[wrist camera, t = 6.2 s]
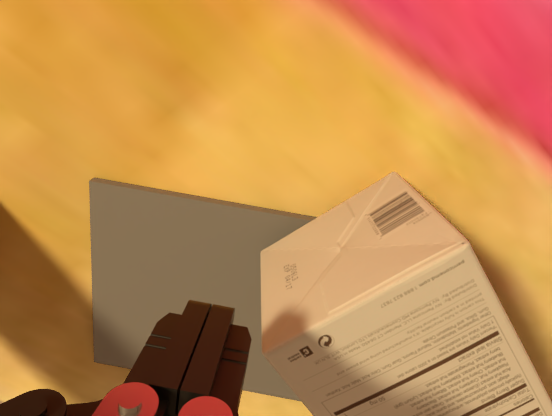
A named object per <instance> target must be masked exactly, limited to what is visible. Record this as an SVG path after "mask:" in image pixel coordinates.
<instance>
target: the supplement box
mask: <svg viewBox="0 0 552 416" xmlns="http://www.w3.org/2000/svg"><path fill="white" fill-rule="evenodd" d="M261 325H262V354H263V355H264V357H265V358H266V359H267V360H268V362H269V363H270V364H271V365H272V367H273V368H274V369H275V370H276V371H277V373H278V374H279V375H280V376H281V377H282V379H283V380H284V381H285V382H286V383H287V385H288V386H289V387H290V388H291V389H292V391H293V392H294V393H295V394H296V395H297V397H298V398H299V399H300V400H301V401H302V402H303V404H304V405H305V406H306V407H307V408H308V410H309V411H310V412H311V413H312V415H313V416H552V401H551V399H550V397H549V395H548V393H547V391H546V389H545V387H544V385H543V383H542V381H541V379H540V377H539V375H538V373H537V371H536V369H535V367H534V365H533V364H532V362H531V360H530V358H529V356H528V354H527V352H526V350H525V348H524V346H523V344H522V342H521V340H520V338H519V337H518V335H517V333H516V331H515V329H514V327H513V325H512V323H511V321H510V319H509V317H508V315H507V314H506V312H505V310H504V308H503V306H502V304H501V302H500V300H499V298H498V296H497V294H496V292H495V291H494V289H493V287H492V285H491V283H490V281H489V279H488V277H487V275H486V273H485V272H484V270H483V268H482V266H481V264H480V262H479V260H478V258H477V256H476V254H475V252H474V250H473V248H472V246H471V244H470V242H469V241H468V240H467V239H466V238H465V237H464V236H463V235H462V234H461V233H460V232H459V231H458V230H457V229H456V228H455V227H454V226H453V225H452V224H451V223H450V222H449V221H448V220H447V219H445V218H444V217H443V216H442V215H441V214H440V213H439V212H438V211H437V210H436V209H435V208H434V207H433V206H432V205H431V204H430V203H429V202H428V201H426V200H425V199H424V198H423V197H422V196H421V195H420V194H419V193H418V192H417V191H416V190H415V189H414V188H413V187H412V186H411V185H410V184H408V183H407V182H406V181H405V180H404V179H403V178H402V177H401V176H400V175H399V174H397V173H396V172H392V173H390V174H388V175H387V176H385V177H384V178H382V179H381V180H379V181H377V182H376V183H374V184H372V185H371V186H369V187H367V188H366V189H364V190H362V191H361V192H359V193H357V194H356V195H354V196H353V197H351V198H349V199H347V200H346V201H344V202H342V203H341V204H339V205H337V206H336V207H334V208H332V209H331V210H329V211H327V212H326V213H324V214H322V215H321V216H319V217H317V218H316V219H314V220H312V221H311V222H309V223H307V224H306V225H304V226H302V227H301V228H299V229H297V230H296V231H294V232H292V233H291V234H289V235H287V236H286V237H284V238H282V239H281V240H279V241H277V242H276V243H274V244H272V245H271V246H269V247H267V248H265V249H264V250H262V251H261Z"/></svg>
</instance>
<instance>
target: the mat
mask: <svg viewBox="0 0 552 416" xmlns="http://www.w3.org/2000/svg"><path fill="white" fill-rule="evenodd" d="M89 188H90V225H91V263H92V300H93V337H94V362H97V363H102V364H107V365H112V366H118V367H123V368H128V369H132V367H133V365H134V364H135V362H136V360H137V358H138V356H139V354H140V353H141V351H142V349H143V347H144V346H145V344H146V342H147V340H148V338H149V336H150V335H151V332H152V331H153V329H154V327H155V325H156V323H157V322H158V321H159V320H160V319H161V318H163V317H164V316H165V315H167V314H168V313H169V312H170V313H175V314H180V315H182V313H183V311H184V309H185V307H186V305H187V303H188V301H189V300H194V301H199V302H205V303H210V304H212V305H213V304H216V305H221V306H226V307H231V308H235V314H234V321H233V324H234V325H239V326H244V327H248V330H249V333H250V336H251V339H252V340H251V345H250V351H249V357H248V363H247V368H246V374H245V379H244V384H243V389H242V390H244V391H250V392H255V393H260V394H266V395H271V396H276V397H281V398H287V399H292V400H297V401H301V400H300V399H299V398H298V397H297V395H296V394H295V393H294V392H293V391H292V389H291V388H290V387H289V386H288V385H287V383H286V382H285V381H284V380H283V379H282V377H281V376H280V375H279V374H278V373H277V371H276V370H275V369H274V368H273V367H272V365H271V364H270V363H269V362H268V360H267V359H266V358H265V357H264V355H263V354H262V325H261V251H262V250H264V249H265V248H267V247H269V246H271V245H272V244H274V243H276V242H277V241H279V240H281V239H282V238H284V237H286V236H287V235H289V234H291V233H292V232H294V231H296V230H297V229H299V228H301V227H302V226H304V225H306V224H307V223H309V222H311V221H312V220H314V219H316V218H317V217H312V216H306V215H301V214H295V213H290V212H284V211H278V210H273V209H267V208H262V207H256V206H250V205H245V204H239V203H234V202H228V201H222V200H217V199H211V198H206V197H200V196H194V195H189V194H183V193H178V192H172V191H166V190H161V189H155V188H150V187H144V186H138V185H133V184H127V183H122V182H116V181H110V180H105V179H99V178H93V179H91V180H90V181H89Z"/></svg>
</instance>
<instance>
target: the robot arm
mask: <svg viewBox="0 0 552 416" xmlns="http://www.w3.org/2000/svg"><path fill="white" fill-rule="evenodd" d="M234 314H235V308H231V307H226V306H221V305H216V304H213V305H212V304H210V303H205V302H199V301H194V300H189V301H188V303H187V305H186V307H185V309H184V311H183V313H182V315H180V314H175V313H170V312H169V313H168V314H167V315H165V316H164V317H163V318H161V319H160V320H159V321H158V322H157V323H156V325H155V327H154V329H153V331H152V332H151V335H150V336H149V338H148V340H147V342H146V344H145V346H144V347H143V349H142V351H141V353H140V354H139V356H138V358H137V360H136V362H135V364H134V365H133V367H132V369H131V371H130V373H129V375H128V376H127V378H126V380H125V382H124V383H123V384H122V385H119V386H117V387H115V388H114V389H112V390H111V391H110V392H109V393H107V395H106V396H105V397H104V399H102V400H100V401H96V402H90V403H81V404H70V405H66V400H65V398H64V397H63V396H62V395H61V394H60V393H59V392H57V391H54V390H50V389H37V390H32V391H29V392H26V393H24V394H21V395H19V396H17V397H15V398H13V399H10V400H8V401H6V402H4V403H2V404H0V416H238V408H239V403H240V398H241V394H242V389H243V384H244V379H245V374H246V368H247V363H248V357H249V351H250V345H251V340H252V339H251V336H250V333H249V330H248V327H244V326H239V325H234V324H233V321H234Z"/></svg>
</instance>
